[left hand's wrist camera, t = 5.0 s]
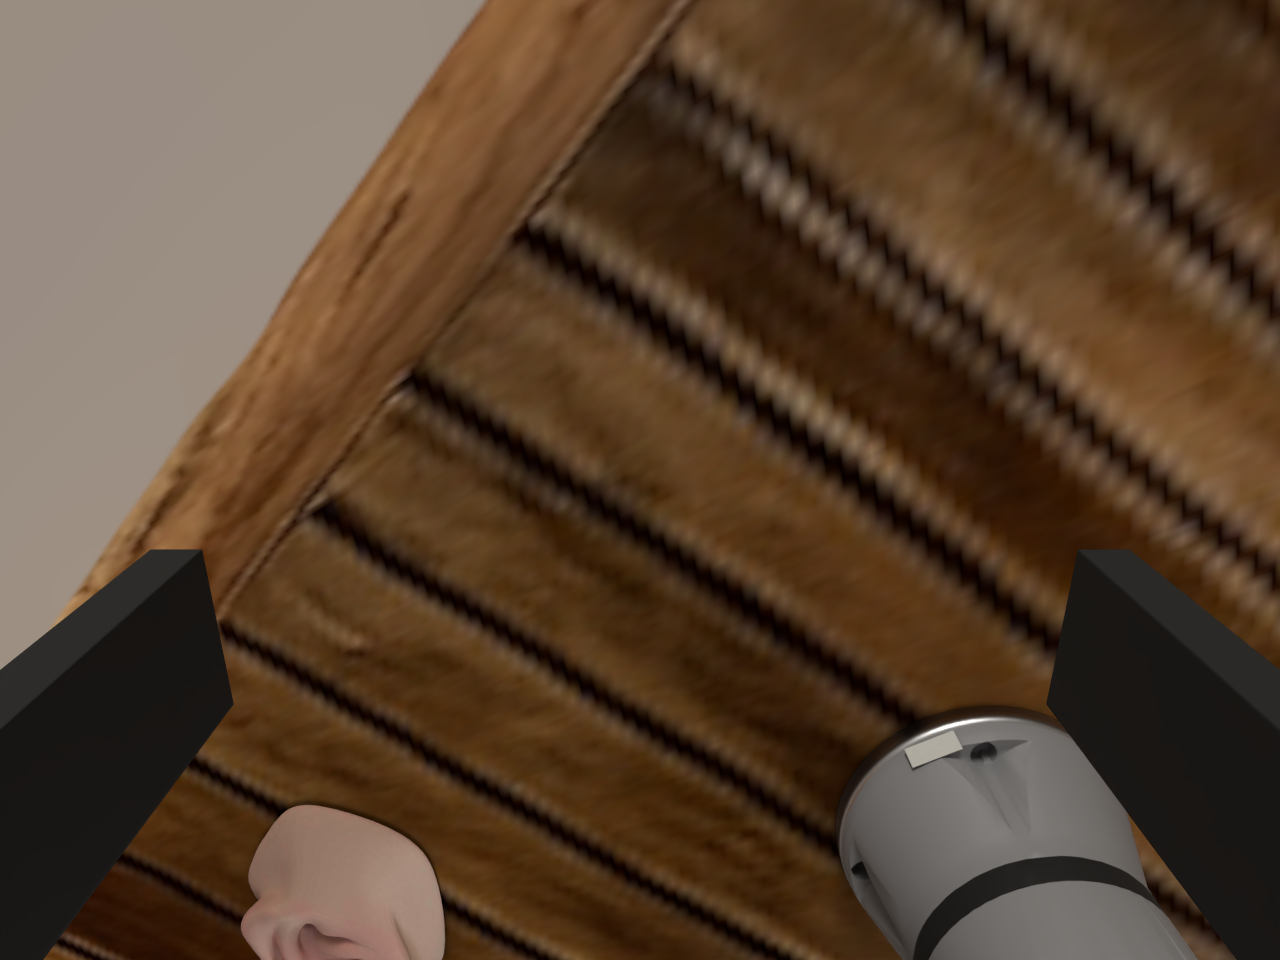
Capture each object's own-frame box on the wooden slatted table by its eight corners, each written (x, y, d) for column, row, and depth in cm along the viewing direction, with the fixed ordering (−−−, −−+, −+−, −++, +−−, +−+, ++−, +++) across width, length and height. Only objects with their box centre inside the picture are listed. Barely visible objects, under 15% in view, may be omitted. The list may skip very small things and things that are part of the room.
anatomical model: (212, 851, 43) (438, 874, 44) (246, 796, 47) (454, 818, 47) (223, 1031, 48) (426, 1050, 48) (253, 968, 51) (442, 986, 52)
